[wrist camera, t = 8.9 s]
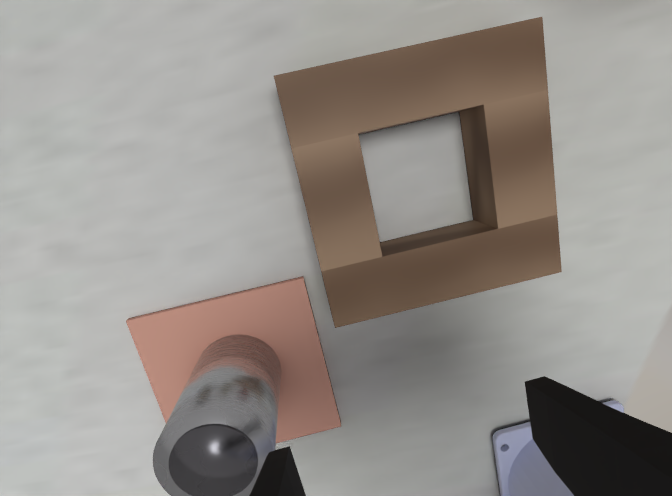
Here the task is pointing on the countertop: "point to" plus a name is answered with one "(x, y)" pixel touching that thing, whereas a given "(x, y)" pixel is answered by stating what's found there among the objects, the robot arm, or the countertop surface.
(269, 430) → the metal plug
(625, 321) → the countertop surface
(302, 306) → the rubber mat
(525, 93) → the socket block
